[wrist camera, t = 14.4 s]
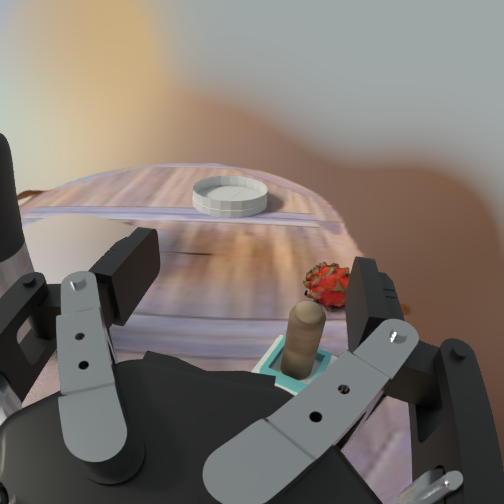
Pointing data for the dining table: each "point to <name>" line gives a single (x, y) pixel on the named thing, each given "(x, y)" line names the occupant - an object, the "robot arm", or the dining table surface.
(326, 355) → the frame board
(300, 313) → the jar
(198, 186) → the dish
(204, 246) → the dining table surface
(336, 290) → the dragon fruit
